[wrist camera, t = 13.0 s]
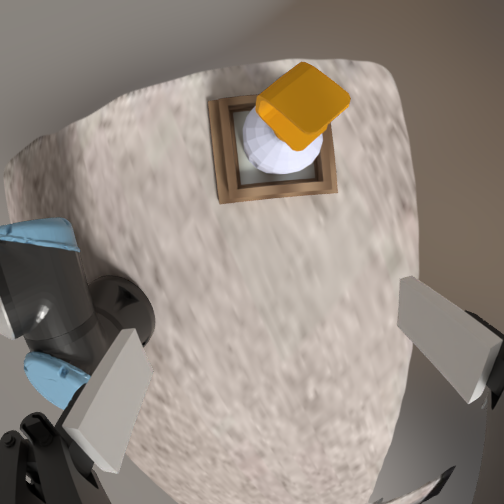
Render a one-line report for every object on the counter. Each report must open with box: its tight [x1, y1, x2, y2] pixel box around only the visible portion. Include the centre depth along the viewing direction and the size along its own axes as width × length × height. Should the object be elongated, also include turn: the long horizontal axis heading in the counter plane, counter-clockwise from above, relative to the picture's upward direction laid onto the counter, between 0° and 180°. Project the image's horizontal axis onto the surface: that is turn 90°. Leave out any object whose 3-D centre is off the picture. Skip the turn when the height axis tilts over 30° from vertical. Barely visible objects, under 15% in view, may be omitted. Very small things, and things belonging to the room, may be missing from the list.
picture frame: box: [208, 94, 338, 204], centre depth 37 cm, size 18×16×4 cm
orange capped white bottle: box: [243, 62, 351, 175], centre depth 26 cm, size 9×9×25 cm
